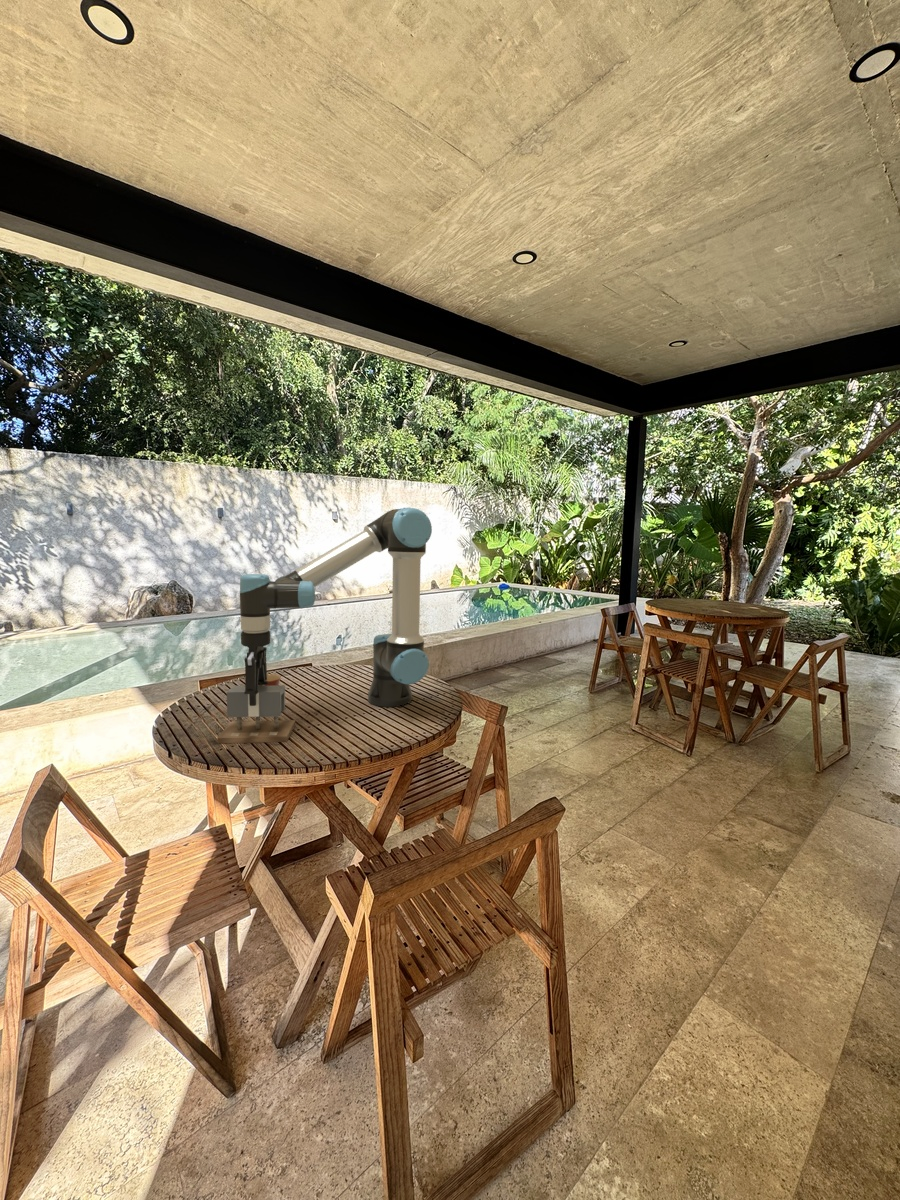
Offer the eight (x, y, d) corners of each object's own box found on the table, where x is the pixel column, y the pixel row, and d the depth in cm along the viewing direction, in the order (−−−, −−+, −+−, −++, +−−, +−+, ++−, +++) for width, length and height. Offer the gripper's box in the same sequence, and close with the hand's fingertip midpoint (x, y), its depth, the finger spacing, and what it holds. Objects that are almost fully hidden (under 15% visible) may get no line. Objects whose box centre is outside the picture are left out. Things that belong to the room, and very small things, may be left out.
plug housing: (285, 709, 141) (284, 685, 140) (280, 716, 135) (280, 692, 134) (234, 709, 139) (233, 685, 138) (227, 717, 133) (226, 692, 132)
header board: (295, 724, 145) (294, 707, 144) (286, 741, 133) (286, 722, 133) (231, 726, 143) (231, 708, 142) (217, 743, 131) (216, 723, 130)
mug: (262, 703, 163) (261, 673, 162) (286, 705, 161) (285, 675, 160) (240, 715, 151) (239, 683, 150) (265, 718, 150) (265, 685, 148)
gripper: (250, 624, 143) (252, 700, 146) (230, 637, 124) (232, 724, 127) (277, 624, 144) (278, 700, 147) (260, 637, 125) (262, 724, 128)
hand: (257, 711), depth 137 cm, fingers closed on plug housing, 6 cm apart
